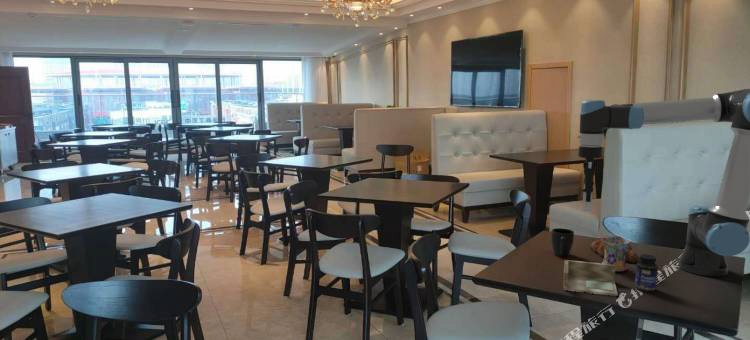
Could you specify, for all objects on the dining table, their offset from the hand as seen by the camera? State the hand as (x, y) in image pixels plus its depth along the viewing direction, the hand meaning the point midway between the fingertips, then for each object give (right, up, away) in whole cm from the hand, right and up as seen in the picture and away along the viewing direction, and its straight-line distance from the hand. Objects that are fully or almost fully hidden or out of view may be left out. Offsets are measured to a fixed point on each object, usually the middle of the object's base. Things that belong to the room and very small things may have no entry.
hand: (587, 206), depth 185 cm
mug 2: (+13, -23, +8) cm, 28 cm away
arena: (-3, -25, -9) cm, 27 cm away
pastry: (+19, -21, +23) cm, 37 cm away
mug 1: (-1, -21, +22) cm, 30 cm away
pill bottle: (+14, -26, -12) cm, 32 cm away
